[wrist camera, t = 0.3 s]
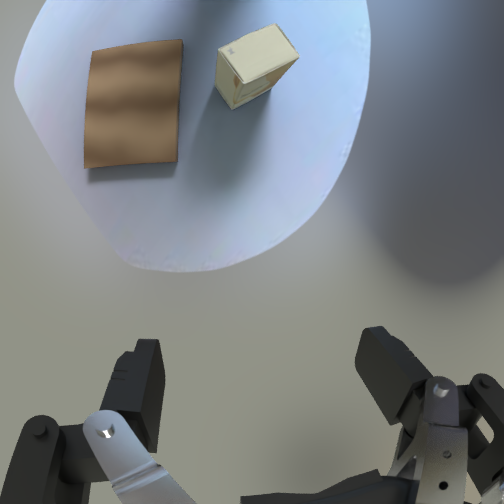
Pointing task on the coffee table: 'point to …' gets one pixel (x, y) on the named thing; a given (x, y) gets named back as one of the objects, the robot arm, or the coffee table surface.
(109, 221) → the coffee table surface
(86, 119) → the walnut board
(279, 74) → the skincare box
